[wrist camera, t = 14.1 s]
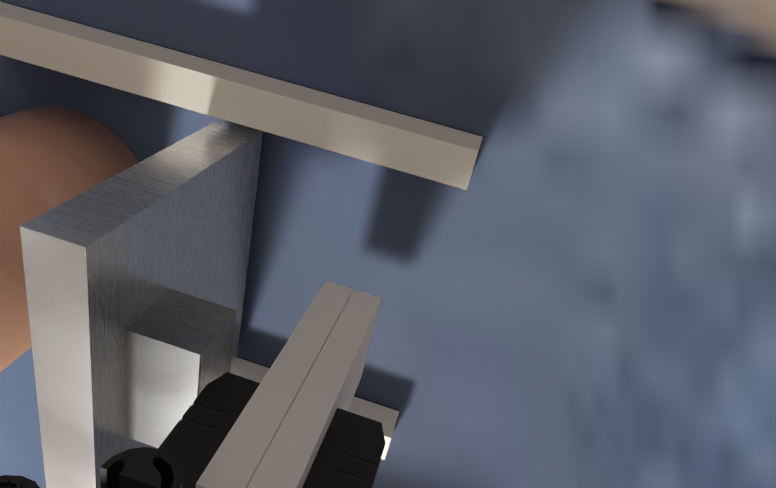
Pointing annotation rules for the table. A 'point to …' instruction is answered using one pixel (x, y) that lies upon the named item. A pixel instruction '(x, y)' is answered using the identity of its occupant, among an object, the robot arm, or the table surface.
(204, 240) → the pusher
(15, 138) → the jar
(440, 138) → the lane
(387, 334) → the table surface
